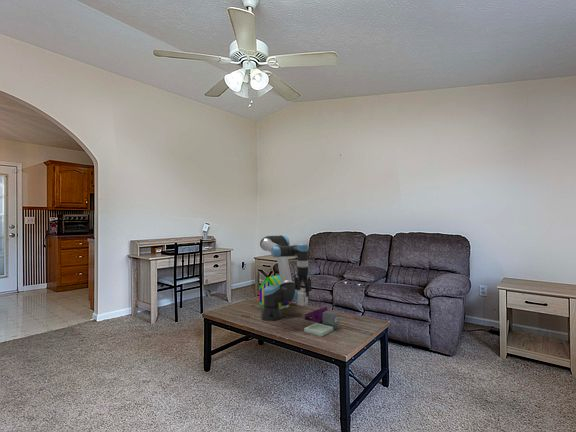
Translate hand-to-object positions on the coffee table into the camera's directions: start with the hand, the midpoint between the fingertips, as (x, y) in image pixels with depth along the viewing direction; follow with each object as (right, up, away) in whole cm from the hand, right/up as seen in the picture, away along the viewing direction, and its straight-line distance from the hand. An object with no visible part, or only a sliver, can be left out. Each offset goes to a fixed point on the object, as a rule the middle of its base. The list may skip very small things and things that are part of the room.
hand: (302, 300), depth 222 cm
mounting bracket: (+10, -19, +18) cm, 28 cm away
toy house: (-22, -19, +56) cm, 63 cm away
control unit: (+19, -18, 0) cm, 26 cm away
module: (0, -3, 0) cm, 3 cm away
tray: (+10, -18, -7) cm, 22 cm away
